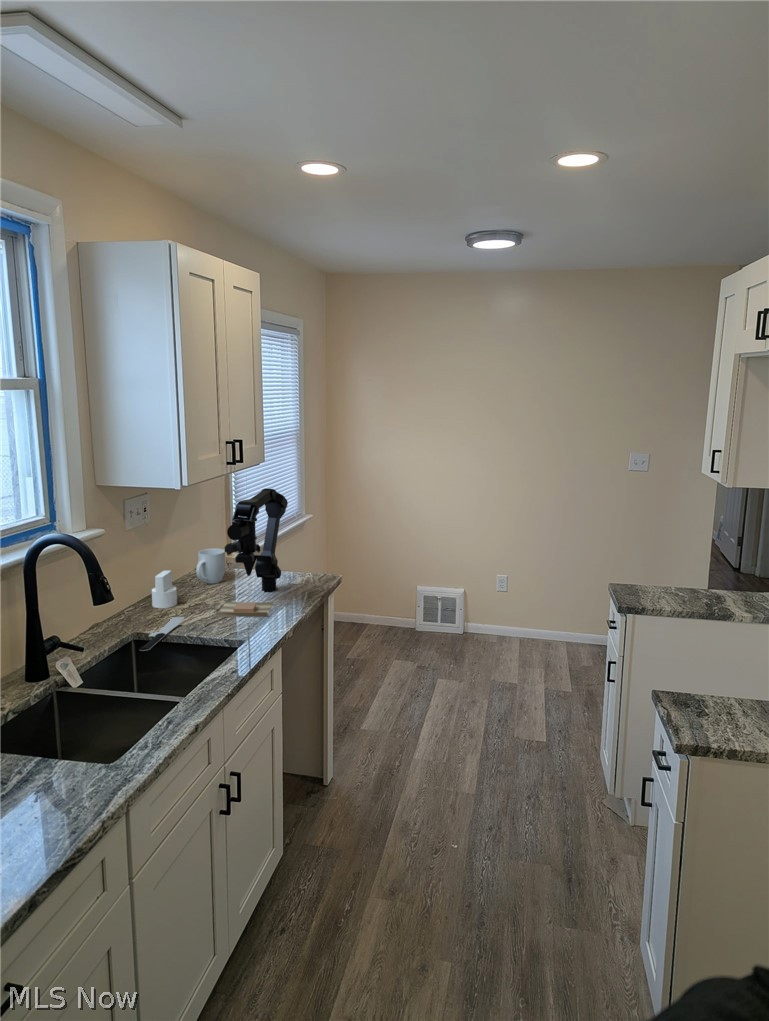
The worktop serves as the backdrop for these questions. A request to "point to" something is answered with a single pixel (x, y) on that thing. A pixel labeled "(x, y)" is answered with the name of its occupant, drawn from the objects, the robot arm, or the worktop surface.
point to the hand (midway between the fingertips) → (248, 575)
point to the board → (260, 611)
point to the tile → (245, 607)
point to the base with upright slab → (164, 591)
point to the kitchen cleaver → (161, 633)
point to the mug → (211, 565)
